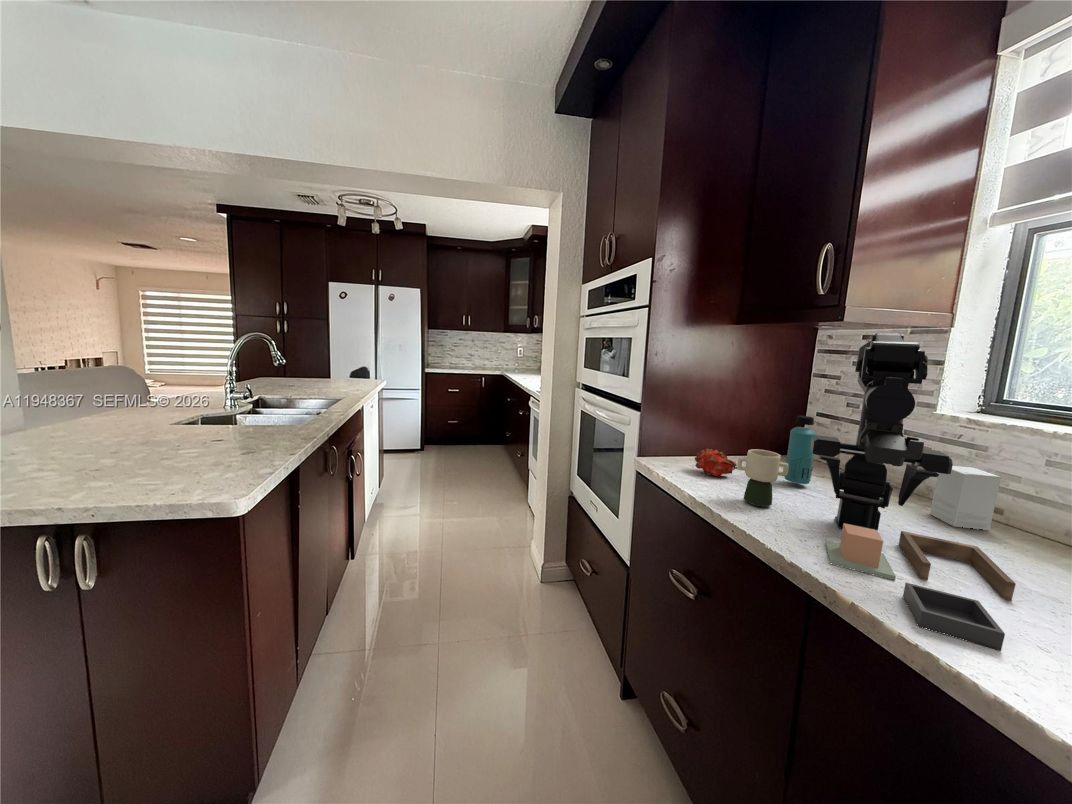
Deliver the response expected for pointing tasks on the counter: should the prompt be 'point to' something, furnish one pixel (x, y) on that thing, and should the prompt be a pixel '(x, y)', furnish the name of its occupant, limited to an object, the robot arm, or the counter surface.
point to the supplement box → (965, 497)
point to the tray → (953, 616)
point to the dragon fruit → (714, 463)
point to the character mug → (761, 475)
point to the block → (861, 545)
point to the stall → (974, 555)
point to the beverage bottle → (800, 452)
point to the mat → (838, 560)
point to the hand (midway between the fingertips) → (867, 499)
